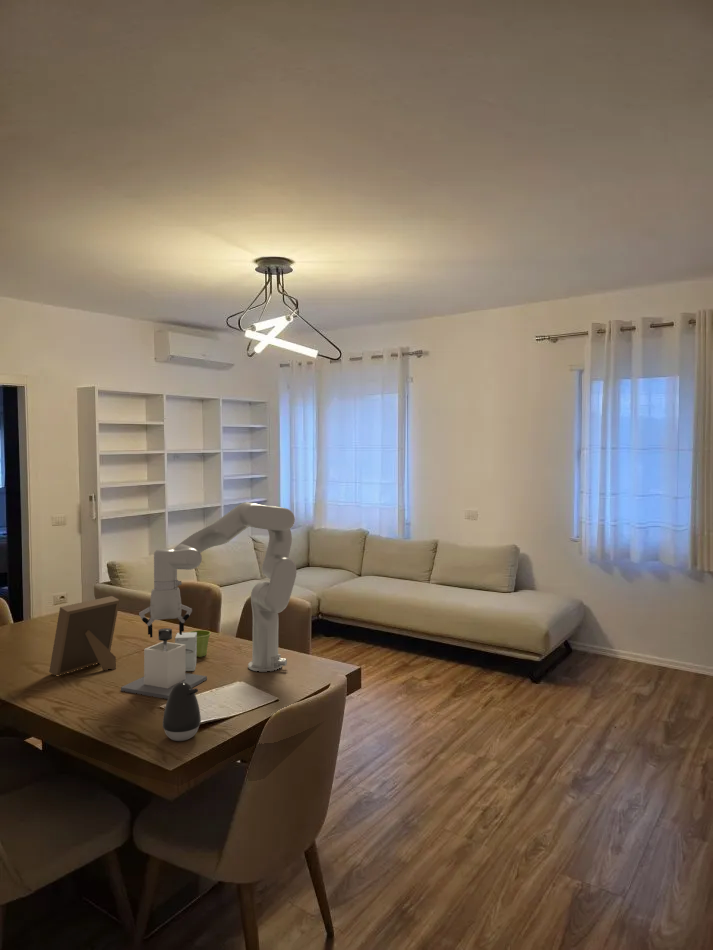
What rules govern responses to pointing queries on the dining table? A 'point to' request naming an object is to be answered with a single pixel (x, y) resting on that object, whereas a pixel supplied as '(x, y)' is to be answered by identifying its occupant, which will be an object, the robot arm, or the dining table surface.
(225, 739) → the dining table surface
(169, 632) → the plunger
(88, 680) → the dining table surface
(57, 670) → the photo frame
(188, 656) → the supplement box
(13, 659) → the dining table surface
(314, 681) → the dining table surface
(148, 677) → the grey square base
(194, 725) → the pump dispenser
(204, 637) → the plant pot
